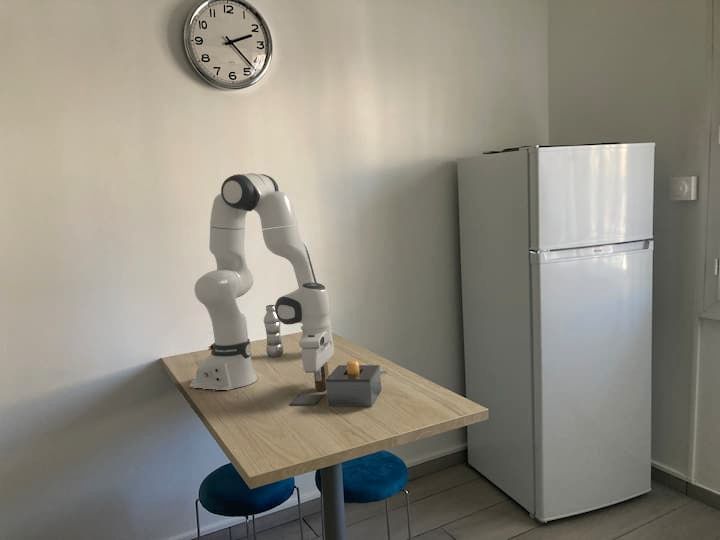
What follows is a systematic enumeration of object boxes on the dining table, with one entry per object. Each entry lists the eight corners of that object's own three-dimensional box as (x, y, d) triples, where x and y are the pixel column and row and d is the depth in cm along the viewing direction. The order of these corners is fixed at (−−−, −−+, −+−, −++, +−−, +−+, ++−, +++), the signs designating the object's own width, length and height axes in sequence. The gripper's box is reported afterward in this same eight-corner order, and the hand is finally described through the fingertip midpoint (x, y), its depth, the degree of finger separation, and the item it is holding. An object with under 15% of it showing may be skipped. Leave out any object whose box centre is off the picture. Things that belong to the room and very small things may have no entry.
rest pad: (289, 405, 167) (289, 403, 167) (298, 395, 174) (298, 393, 174) (315, 405, 165) (314, 404, 165) (323, 395, 172) (323, 394, 172)
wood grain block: (315, 390, 177) (313, 365, 176) (319, 386, 181) (316, 362, 180) (326, 390, 177) (324, 365, 176) (329, 386, 180) (327, 362, 179)
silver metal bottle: (275, 352, 226) (270, 303, 223) (287, 354, 222) (282, 304, 219) (263, 357, 220) (258, 307, 218) (276, 359, 216) (270, 307, 214)
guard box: (328, 405, 164) (325, 379, 163) (340, 390, 176) (338, 365, 175) (372, 406, 161) (369, 379, 159) (381, 390, 173) (379, 365, 172)
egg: (346, 383, 166) (345, 364, 166) (349, 379, 170) (348, 360, 169) (358, 383, 166) (356, 364, 165) (361, 379, 169) (359, 360, 168)
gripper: (318, 326, 187) (322, 367, 189) (297, 343, 168) (301, 388, 169) (337, 326, 186) (340, 367, 187) (317, 343, 166) (321, 389, 168)
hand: (321, 377), depth 178 cm, fingers closed on wood grain block, 3 cm apart
